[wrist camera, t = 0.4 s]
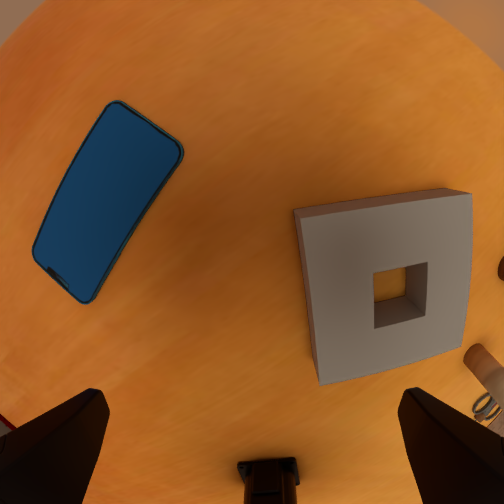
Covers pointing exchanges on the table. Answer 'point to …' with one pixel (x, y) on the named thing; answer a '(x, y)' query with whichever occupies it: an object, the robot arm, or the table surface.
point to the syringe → (485, 409)
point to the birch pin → (486, 371)
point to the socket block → (377, 260)
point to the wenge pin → (501, 269)
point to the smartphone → (103, 198)
